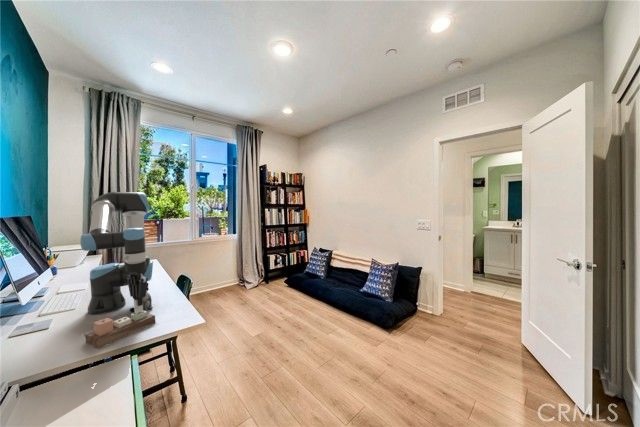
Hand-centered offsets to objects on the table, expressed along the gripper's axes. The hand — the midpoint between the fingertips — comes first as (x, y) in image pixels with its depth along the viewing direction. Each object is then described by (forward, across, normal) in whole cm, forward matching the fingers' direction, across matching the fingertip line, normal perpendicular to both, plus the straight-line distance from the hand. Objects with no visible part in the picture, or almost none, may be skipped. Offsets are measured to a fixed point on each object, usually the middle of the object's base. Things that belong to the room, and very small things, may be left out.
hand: (138, 311), depth 108 cm
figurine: (+6, -14, +8) cm, 17 cm away
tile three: (+6, 0, 0) cm, 6 cm away
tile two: (+6, 0, -6) cm, 9 cm away
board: (+6, 0, -6) cm, 9 cm away
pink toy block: (+3, 0, -13) cm, 13 cm away
